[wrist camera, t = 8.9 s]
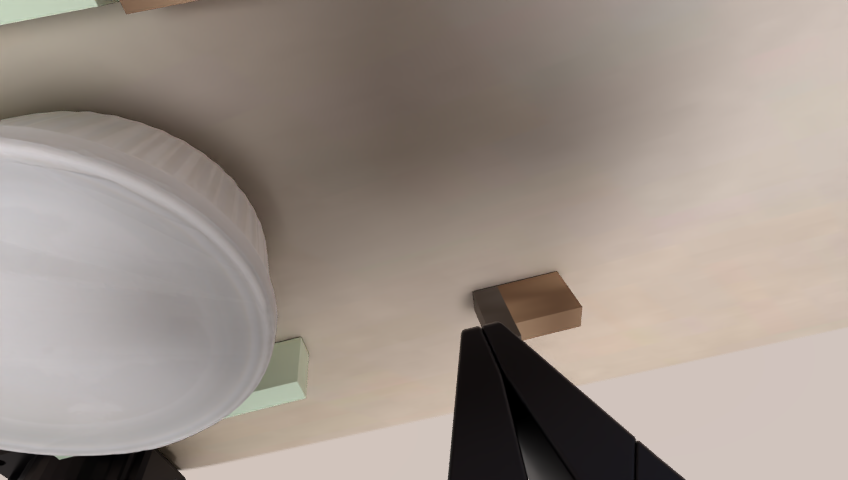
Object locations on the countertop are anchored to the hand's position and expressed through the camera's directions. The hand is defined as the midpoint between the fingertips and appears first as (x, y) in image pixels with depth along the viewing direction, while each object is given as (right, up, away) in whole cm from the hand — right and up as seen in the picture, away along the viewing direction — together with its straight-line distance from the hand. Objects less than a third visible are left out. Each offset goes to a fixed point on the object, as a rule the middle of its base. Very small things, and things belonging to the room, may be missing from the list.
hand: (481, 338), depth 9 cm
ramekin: (-12, +2, +7) cm, 14 cm away
